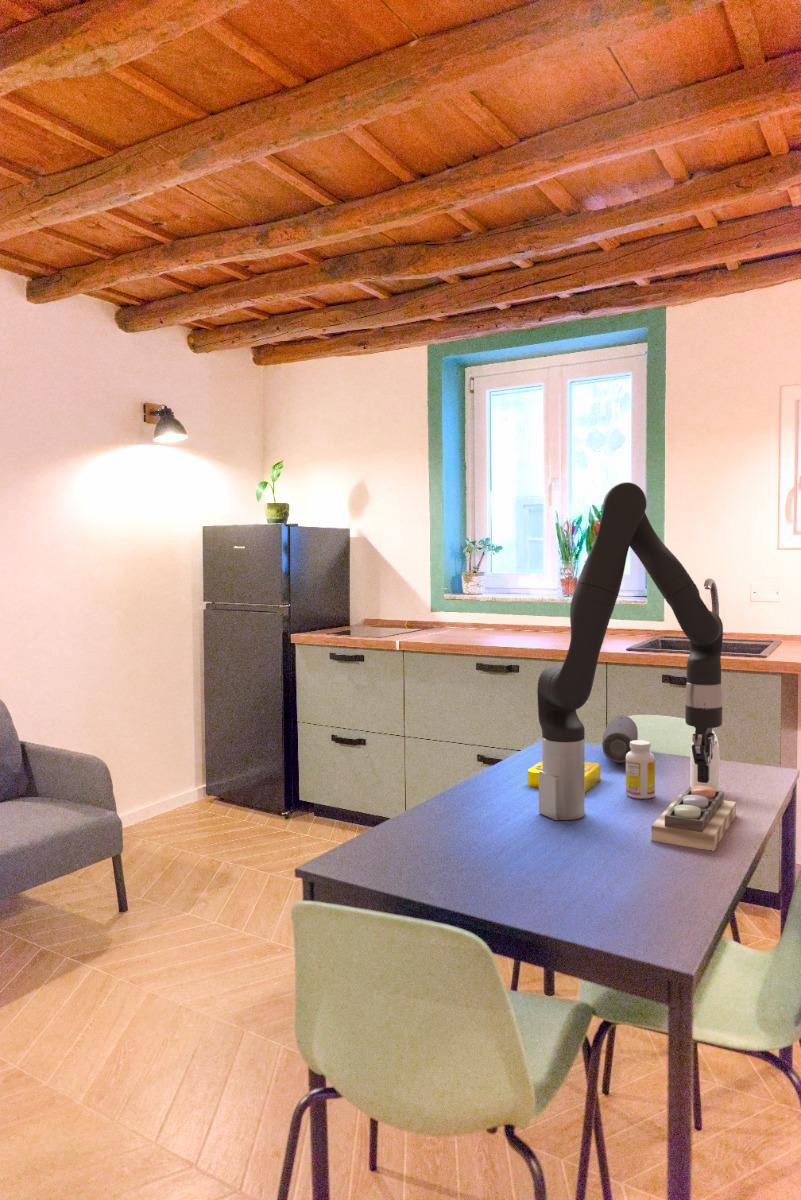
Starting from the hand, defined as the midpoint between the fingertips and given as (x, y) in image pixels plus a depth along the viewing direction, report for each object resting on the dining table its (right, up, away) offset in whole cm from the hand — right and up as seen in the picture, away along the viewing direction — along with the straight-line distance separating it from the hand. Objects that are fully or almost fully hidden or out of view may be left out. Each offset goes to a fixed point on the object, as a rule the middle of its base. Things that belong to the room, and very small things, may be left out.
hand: (703, 781), depth 179 cm
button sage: (-8, -4, -13) cm, 16 cm away
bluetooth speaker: (-4, -5, +51) cm, 52 cm away
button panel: (-4, -8, -6) cm, 11 cm away
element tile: (-25, -7, +28) cm, 38 cm away
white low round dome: (-4, -4, -6) cm, 8 cm away
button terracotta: (0, -3, 0) cm, 3 cm away
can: (+7, -7, +19) cm, 22 cm away
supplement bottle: (-9, -7, +16) cm, 20 cm away
